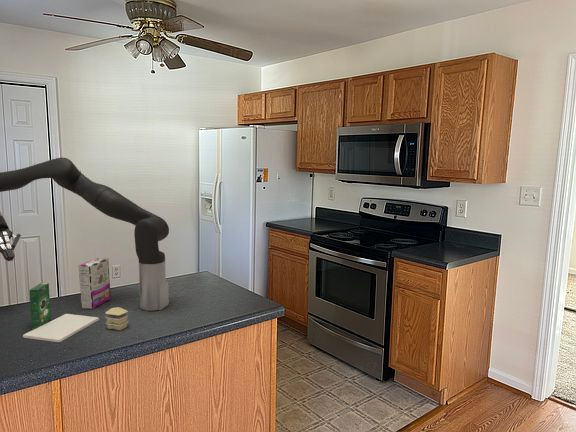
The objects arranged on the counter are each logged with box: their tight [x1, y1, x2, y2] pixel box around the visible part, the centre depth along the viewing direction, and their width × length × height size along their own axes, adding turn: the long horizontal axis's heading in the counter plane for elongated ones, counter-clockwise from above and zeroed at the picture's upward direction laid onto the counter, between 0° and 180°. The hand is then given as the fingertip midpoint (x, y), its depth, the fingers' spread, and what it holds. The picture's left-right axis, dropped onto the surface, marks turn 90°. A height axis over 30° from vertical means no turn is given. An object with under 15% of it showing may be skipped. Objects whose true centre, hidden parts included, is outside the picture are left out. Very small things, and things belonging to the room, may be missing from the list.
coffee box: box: [28, 282, 52, 330], centre depth 138 cm, size 8×3×13 cm, turn 5°
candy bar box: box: [78, 257, 112, 310], centre depth 157 cm, size 11×5×16 cm, turn 168°
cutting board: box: [22, 313, 100, 343], centre depth 136 cm, size 13×18×1 cm
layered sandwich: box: [104, 306, 129, 331], centre depth 138 cm, size 10×9×6 cm
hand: (10, 259), depth 146 cm, fingers closed
